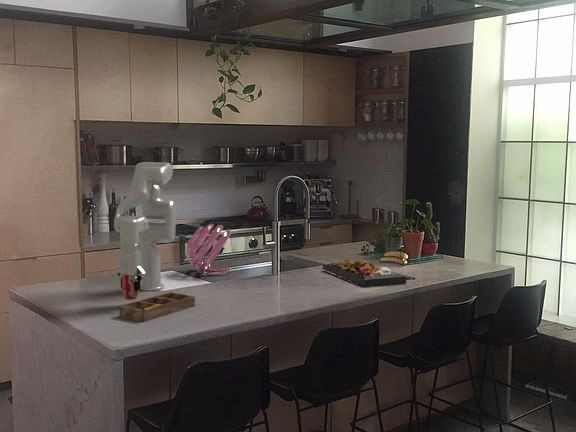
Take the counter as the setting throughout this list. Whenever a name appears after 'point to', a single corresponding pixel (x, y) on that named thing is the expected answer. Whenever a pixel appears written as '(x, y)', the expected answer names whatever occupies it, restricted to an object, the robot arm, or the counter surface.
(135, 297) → the soda can
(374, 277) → the food platter
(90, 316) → the counter surface
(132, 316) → the rack
